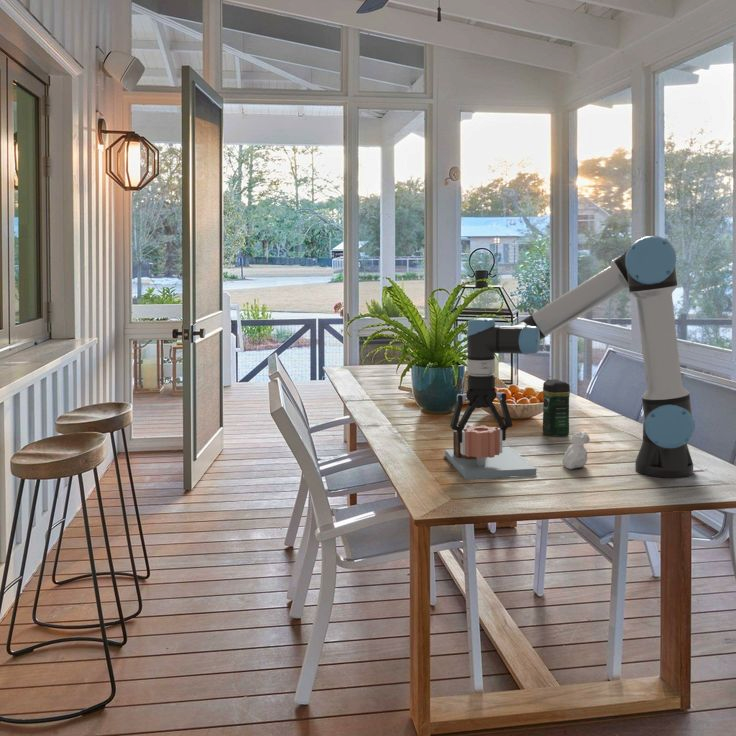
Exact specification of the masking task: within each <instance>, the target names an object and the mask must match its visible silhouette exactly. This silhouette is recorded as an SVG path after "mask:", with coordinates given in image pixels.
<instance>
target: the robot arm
mask: <svg viewBox="0 0 736 736" xmlns="http://www.w3.org/2000/svg"><path fill="white" fill-rule="evenodd" d="M676 265H677V256H676V251H675V249H674V247H673V245H672V244H671V243H670V242H669V241H668V240H666V239H665V238H664V237H661V236H659V235H658V236H657V235H646V236H643V237H640V238H637V239H636V240H635V241H633V242H632V243H631V245H630V246H629V247H628V248H627V249H626V250H625V251H624V252H623V253H622V254H620V255H618V256H617V257H615V258H614V259H612V260H611V263H610V265H609V266H608V267H606V268H605V269H603V270H601V271H599V272H598V273H596V274H595V275H593V276H592V277H589V278H588V279H587V280H585V281H583V282H582V283H580V284H579V285H576V286H575V287H574V288H572V289H571V290H569V291H567V292H566V293H564V294H563V295H560V296H559V297H558V298H556V299H554V300H553V301H551V302H549V303H548V304H546V305H545V306H543V307H542V308H540V309H538V310H536V311H535V312H534V313H532V314H531V315H529V316H527V317H526V318H524V319H522V320H520V321H518V322H516V323H515V324H514V325H498V324H497V323H496V321H495V318H492V317H490V318H489V317H477V318H475V317H474V318H471V319H469V320H468V322H467V334H466V341H467V342H466V343H467V346H466V348H467V350H466V351H467V362H466V363H467V373H468V375H467V390H466V393H463V394H461V393H457V394H456V395H455V397H456V401H455V402H456V404H455V406H454V410H453V413H452V417H451V422H450V425H449V427H450V428H451V429H452V430H453V431H457V441H458V443H460V453H461V454H462V455H465V431H464V430H463V429H464V428H466V426H467V424H468V421H469V420H470V418H471V416H472V414H473V412H474V411H475V409H481V408H484V409H489V411H490V413H491V414H492V416H493V417H494V419H495V421H496V423H497V424H498V426H499V427H497V429H500V453H502V447H503V442H505V441H506V437H507V436H506V435H507V432H506V431H507V430H508V429H509V428H512V427H513V422H512V418H511V415H510V412H509V408H508V403H507V394H506V393H505V392H504V391H501V392H497V391H496V376H495V375H494V373H495V372H496V367H495V366H496V360H495V359H496V357H495V356H496V355H495V354H519V355H520V354H521V355H523V354H524V355H528V354H537V353H538V352H539V351H540V347H541V346H540V344H541V340H543V339H545V338H546V337H548V336H550V335H551V334H553V333H555V332H556V331H558V330H559V329H561V328H563V327H565V326H566V325H568V324H569V323H572V322H574V321H575V320H576V319H578V318H580V317H581V316H583V315H584V314H586V313H588V312H589V311H592V310H593V309H595V308H596V307H598V306H599V305H602V304H603V303H604V302H606V301H608V300H610V299H611V298H613V297H615V296H616V295H618V294H620V293H621V292H623V291H625V290H628V291H629V294H631V296H633V297H634V298H635V299H636V305H637V315H638V324H639V325H638V326H639V332H640V340H641V341H640V342H641V348H642V349H641V351H642V358H643V359H642V360H643V365H644V367H643V368H644V376H645V382H646V383H645V384H646V389H645V390H644V392H643V394H642V395H641V402H642V410H643V417H642V418H643V419H642V421H643V422H642V443H641V444H640V445H641V446H640V448H639V450H638V454H637V456H636V459H635V465H634V466H635V468H634V469H635V470H636V471H637V472H638V473H641V474H644V475H647V476H652V477H658V478H671V479H672V478H685V477H688V476H689V477H690V476H691V475H693V474H694V463H693V460H692V459H693V458H692V456H691V453H690V450H689V446H688V442H689V441H690V439H691V438H692V437H693V434H694V431H695V429H696V428H695V427H696V425H695V420H694V418H693V414H692V412H693V411H692V405H691V404H692V403H691V396H690V394H691V393H690V391H689V390H687V389H686V388H685V387H684V386H683V381H682V380H683V379H682V373H681V372H682V371H681V363H680V354H679V346H678V345H679V344H678V337H677V327H676V319H675V309H674V303H673V302H674V299H673V294H674V293H673V292H674V291H675V290H676V289H677V288H678V281H677V277H678V276H677V270H676V269H677V268H676ZM496 324H497V325H496ZM496 398H497V400H498V401H499V405H500V408H501V412H502V416H503V418H504V420H503V419H502V417H501V416H500V414H499V412H498V411H497V408H496V406H495V404H494V403H493V402H494V401H495V399H496ZM466 399H467V400H468V405H467V407H466V409H465V412H464V413H463V414H462V417H461V418H460V415H461V411H462V408H463V405H464V402H465V401H466ZM459 419H460V420H459Z"/></svg>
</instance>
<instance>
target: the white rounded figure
mask: <svg viewBox="0 0 736 736" xmlns="http://www.w3.org/2000/svg"><path fill="white" fill-rule="evenodd" d="M590 441H591V440H590V436H589V434H588V433H587V432H582V431H581V430H579V431H577V432H576V433H574V434H573V435H571V443H572V444H570V445H569V446H568V447H567V449H566V451H565V453H564V455H563V458H562V460H561V461H562V464H563V466H564V467H565V468H566V469H569V470H573V469H578V468H583V467H584V466H586V463H587V462H588V451H587V449H586V448H585V446H584V445H585V444H589V443H590Z"/></svg>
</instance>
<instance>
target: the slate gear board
mask: <svg viewBox="0 0 736 736" xmlns="http://www.w3.org/2000/svg"><path fill="white" fill-rule="evenodd" d="M469 426H475V424H466V428H469ZM444 456H446V457H447V458H446V457H445V458H446V459H447V460H448V461H449V463H450V464H451V465H452V464H453V465H452V466H453V467H454V468H455V470H456V471H457V472H458V473H459V474H460V475H461V476H462V477H463V478H464V480H476V479H479V480H480V479H496V478H498V479H500V478H511V477H510V476H519V477H531V475H536V476H537V467H535V466H534V465H532V464H531V463H530V461H527V460H526V459H525V458H524V457H523V456H522V455H520V454H519V453H518V452H517V451H515V450H514V449H513V448H511V447H510V446H502V453H500V454H499V455H494V457H492V458H489V457H482V458H474V459H466V458H457V457H455V455H454V448H453V449H452V448H451V449H445V450H444ZM499 477H500V478H499Z"/></svg>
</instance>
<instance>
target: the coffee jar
mask: <svg viewBox="0 0 736 736" xmlns="http://www.w3.org/2000/svg"><path fill="white" fill-rule="evenodd" d="M542 385H543V386H542V395H543V397H542V398H543V405H542V407H543V409H542V432H543V434H546V435H547V436H550V437H552V436H555V437H559V436H561V437H564V436H568V435H569V434H570V397H571V396H570V394H571V390H570V389H571V388H570V386H571V385H570V384H569V383H568V382H566V381H562V380H559V379H555V378H554V379H552V378H551V379H546V380H545V381H544V382H543V384H542Z"/></svg>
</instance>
